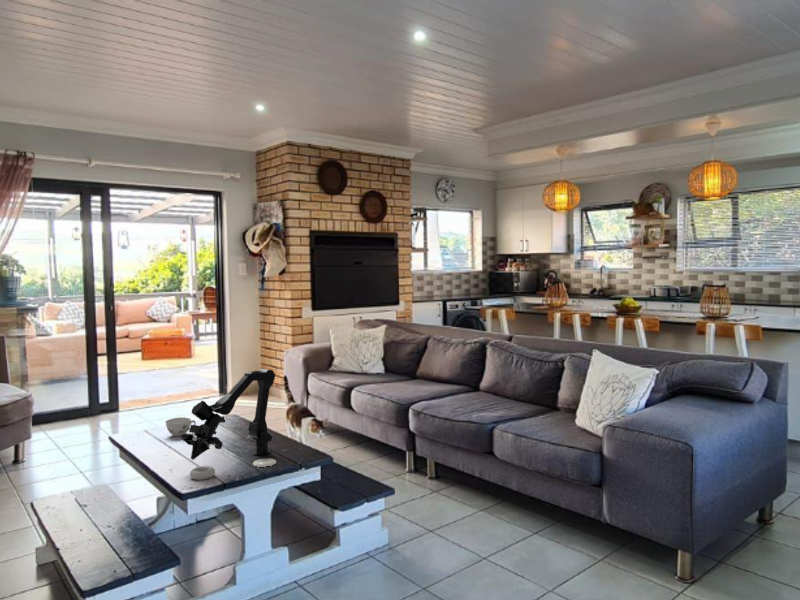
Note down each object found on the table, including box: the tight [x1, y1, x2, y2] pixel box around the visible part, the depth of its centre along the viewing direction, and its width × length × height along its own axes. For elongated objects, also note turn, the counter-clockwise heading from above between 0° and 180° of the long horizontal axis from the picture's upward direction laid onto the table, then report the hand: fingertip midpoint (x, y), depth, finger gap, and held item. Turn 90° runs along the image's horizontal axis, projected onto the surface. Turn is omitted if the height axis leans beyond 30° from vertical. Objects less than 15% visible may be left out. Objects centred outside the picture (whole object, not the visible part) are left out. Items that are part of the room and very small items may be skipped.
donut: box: [189, 465, 216, 481], centre depth 241 cm, size 10×4×10 cm
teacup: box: [165, 416, 197, 437], centre depth 306 cm, size 15×12×8 cm
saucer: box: [252, 457, 277, 468], centre depth 257 cm, size 10×10×1 cm
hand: (192, 459), depth 243 cm, fingers closed
